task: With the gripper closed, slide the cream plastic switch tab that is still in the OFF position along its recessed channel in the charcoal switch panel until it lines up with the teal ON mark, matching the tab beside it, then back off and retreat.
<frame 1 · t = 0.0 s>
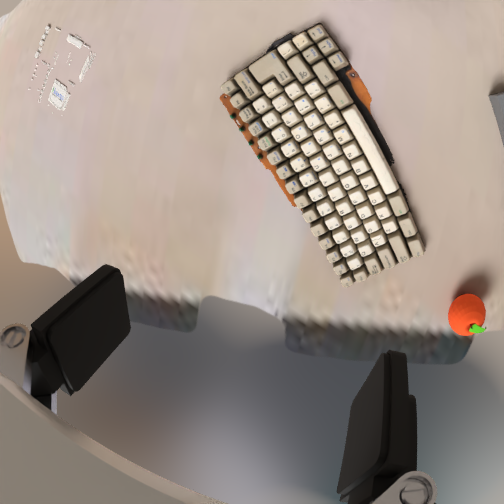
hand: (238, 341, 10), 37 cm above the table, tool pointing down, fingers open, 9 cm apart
clementine: (464, 302, 44), on the table
mechanical keyboard: (335, 159, 43), on the table
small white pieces: (59, 69, 48), on the table
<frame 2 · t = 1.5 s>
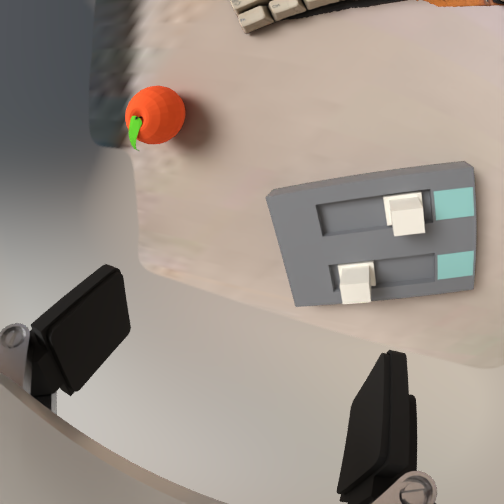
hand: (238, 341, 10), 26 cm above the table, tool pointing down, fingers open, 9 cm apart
clementine: (171, 115, 35), on the table
switch panel: (379, 233, 33), on the table
tab 2: (356, 282, 32), point 4 cm above the table, slide at 0.0 cm
tab 1: (405, 214, 27), point 4 cm above the table, slide at 6.0 cm
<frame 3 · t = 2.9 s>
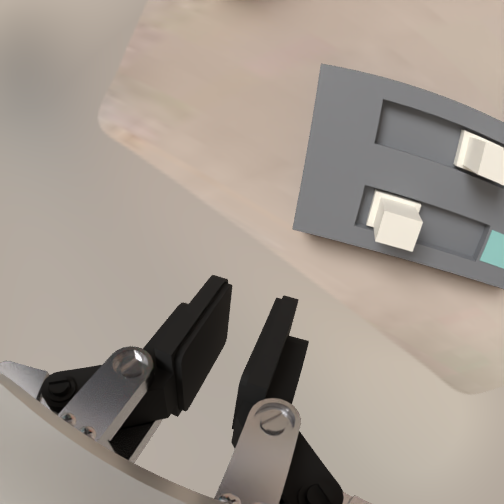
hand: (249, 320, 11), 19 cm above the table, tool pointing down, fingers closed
switch panel: (431, 177, 23), on the table
tab 2: (395, 221, 22), point 4 cm above the table, slide at 0.0 cm
tab 1: (487, 159, 18), point 4 cm above the table, slide at 6.0 cm
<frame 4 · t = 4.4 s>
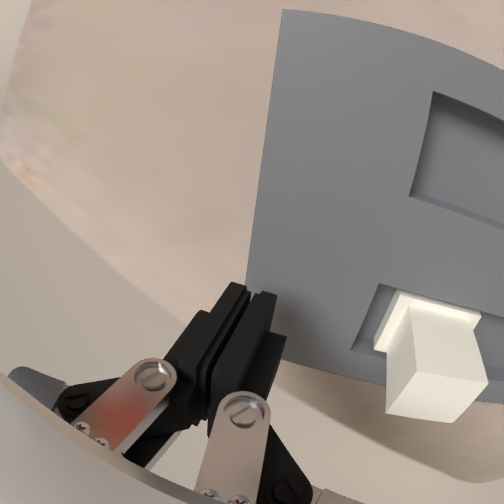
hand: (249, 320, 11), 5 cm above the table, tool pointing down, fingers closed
switch panel: (497, 249, 11), on the table
tab 2: (432, 357, 10), point 4 cm above the table, slide at 0.0 cm
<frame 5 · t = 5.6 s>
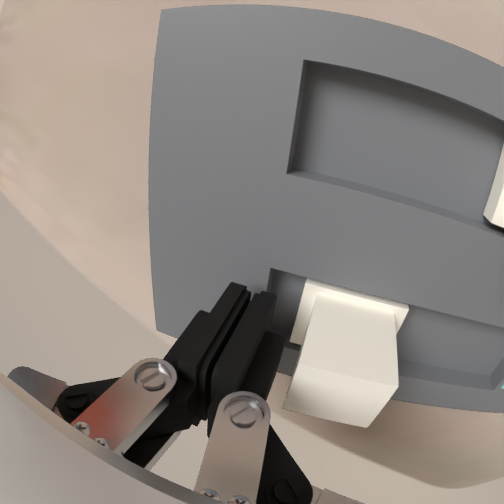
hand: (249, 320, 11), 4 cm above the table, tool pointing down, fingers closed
switch panel: (430, 233, 12), on the table
tab 2: (344, 352, 10), point 4 cm above the table, slide at 0.3 cm, touching gripper
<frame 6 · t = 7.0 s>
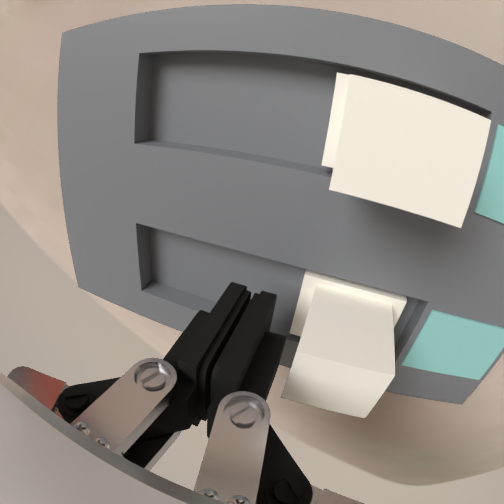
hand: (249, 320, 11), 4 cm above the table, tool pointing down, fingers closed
switch panel: (297, 192, 13), on the table
tab 2: (342, 342, 10), point 4 cm above the table, slide at 6.2 cm, touching gripper
tab 1: (399, 140, 7), point 4 cm above the table, slide at 6.0 cm
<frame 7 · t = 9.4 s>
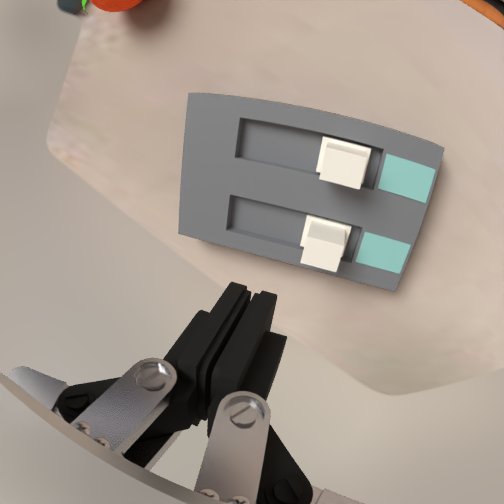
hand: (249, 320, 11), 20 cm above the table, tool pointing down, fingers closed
switch panel: (303, 182, 28), on the table
tab 2: (324, 243, 26), point 4 cm above the table, slide at 6.1 cm
tab 1: (343, 162, 23), point 4 cm above the table, slide at 6.0 cm
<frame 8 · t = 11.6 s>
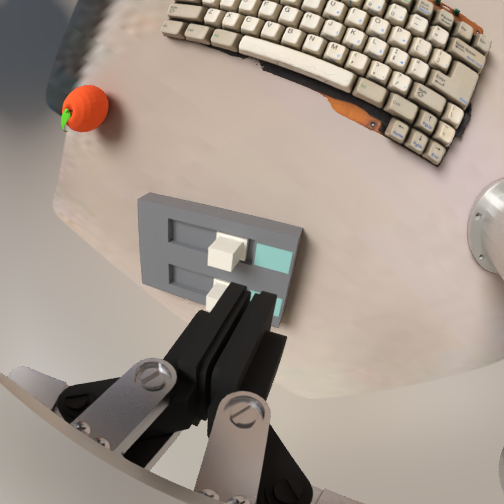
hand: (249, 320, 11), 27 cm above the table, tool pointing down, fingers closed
clementine: (100, 108, 39), on the table
switch panel: (216, 254, 44), on the table
tab 2: (222, 297, 41), point 4 cm above the table, slide at 6.1 cm
mechanical keyboard: (322, 26, 27), on the table
tab 1: (226, 251, 38), point 4 cm above the table, slide at 6.0 cm
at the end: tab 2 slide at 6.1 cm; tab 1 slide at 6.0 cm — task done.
